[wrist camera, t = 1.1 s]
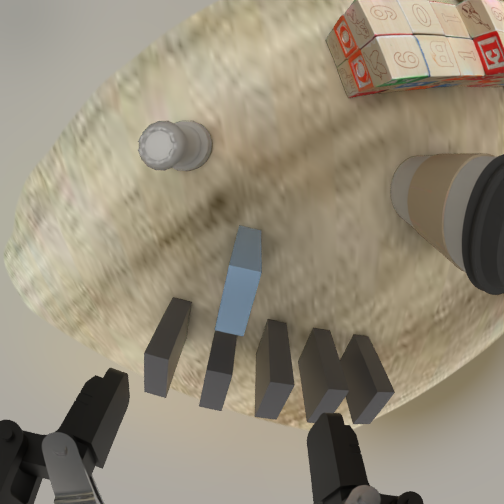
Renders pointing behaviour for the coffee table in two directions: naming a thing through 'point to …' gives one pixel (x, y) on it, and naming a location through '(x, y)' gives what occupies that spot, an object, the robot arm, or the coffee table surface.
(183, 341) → the domino
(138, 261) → the coffee table surface
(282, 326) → the domino
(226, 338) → the domino
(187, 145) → the rook chess piece
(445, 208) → the coffee cup
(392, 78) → the stack of blocks
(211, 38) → the coffee table surface
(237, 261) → the tile
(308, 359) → the domino
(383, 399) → the domino
